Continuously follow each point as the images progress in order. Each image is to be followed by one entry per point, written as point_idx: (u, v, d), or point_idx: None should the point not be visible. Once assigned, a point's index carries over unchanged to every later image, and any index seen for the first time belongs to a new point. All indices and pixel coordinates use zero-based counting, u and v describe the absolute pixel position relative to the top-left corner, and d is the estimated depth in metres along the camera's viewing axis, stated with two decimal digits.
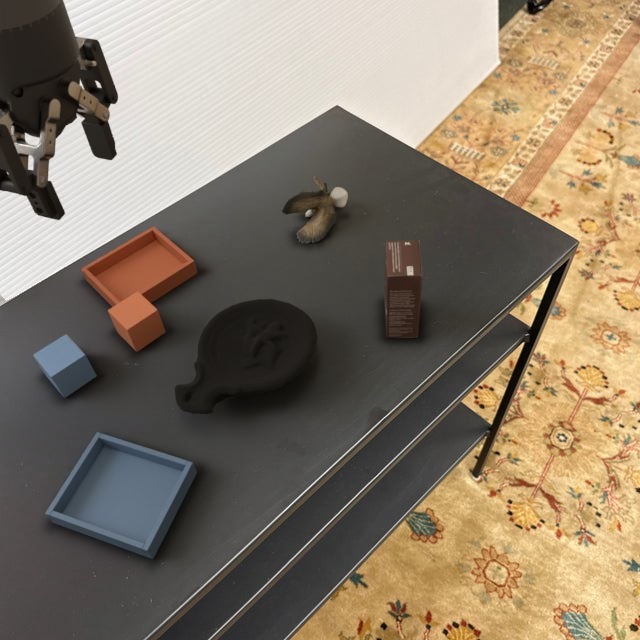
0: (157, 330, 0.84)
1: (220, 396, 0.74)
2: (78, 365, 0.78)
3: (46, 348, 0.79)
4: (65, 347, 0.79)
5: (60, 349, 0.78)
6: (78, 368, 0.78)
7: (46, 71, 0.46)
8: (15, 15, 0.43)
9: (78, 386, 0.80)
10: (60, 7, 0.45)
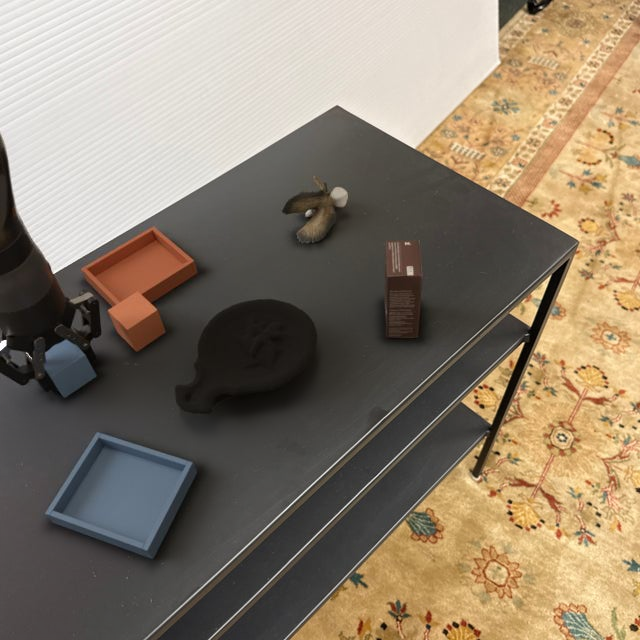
0: (157, 330, 0.84)
1: (220, 396, 0.74)
2: (78, 365, 0.78)
3: None
4: (65, 347, 0.79)
5: (60, 349, 0.78)
6: (78, 368, 0.78)
7: (26, 332, 0.69)
8: (5, 307, 0.65)
9: (78, 386, 0.80)
10: (44, 298, 0.67)
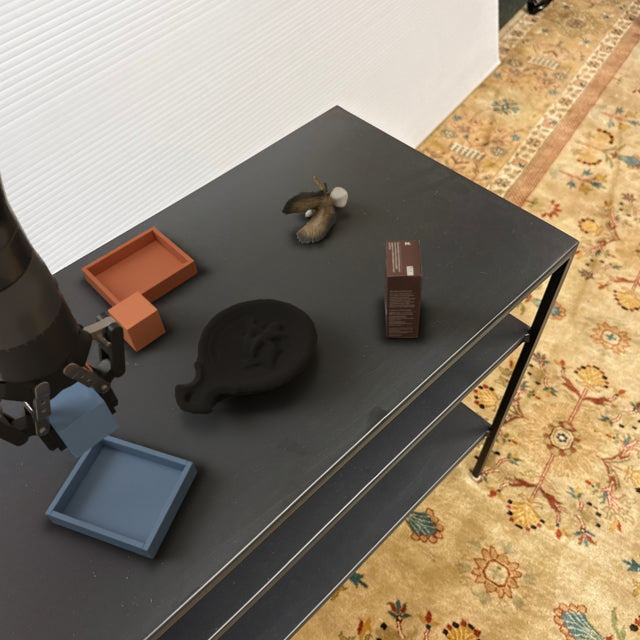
0: (157, 330, 0.84)
1: (220, 396, 0.74)
2: (95, 415, 0.57)
3: None
4: (77, 390, 0.58)
5: (70, 394, 0.58)
6: (94, 419, 0.57)
7: (24, 377, 0.48)
8: None
9: (94, 442, 0.59)
10: (48, 329, 0.47)
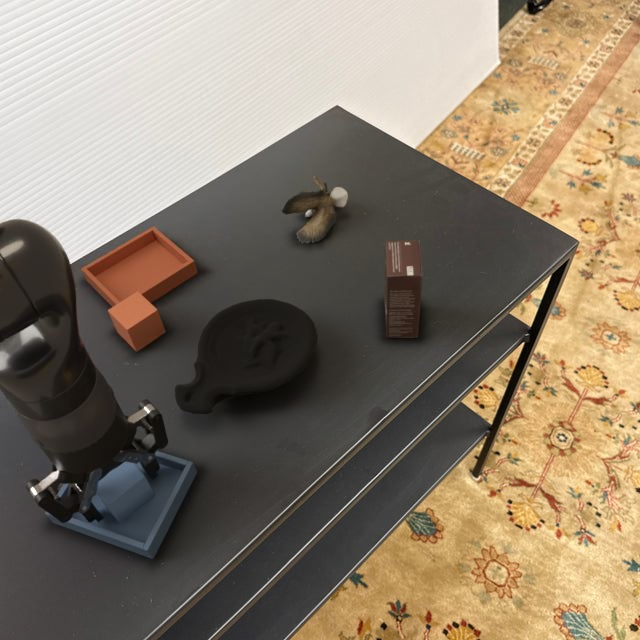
0: (157, 330, 0.84)
1: (220, 396, 0.74)
2: (137, 488, 0.67)
3: None
4: (121, 466, 0.67)
5: (115, 469, 0.67)
6: (136, 491, 0.67)
7: (84, 469, 0.58)
8: (62, 448, 0.54)
9: (135, 509, 0.69)
10: (107, 432, 0.56)
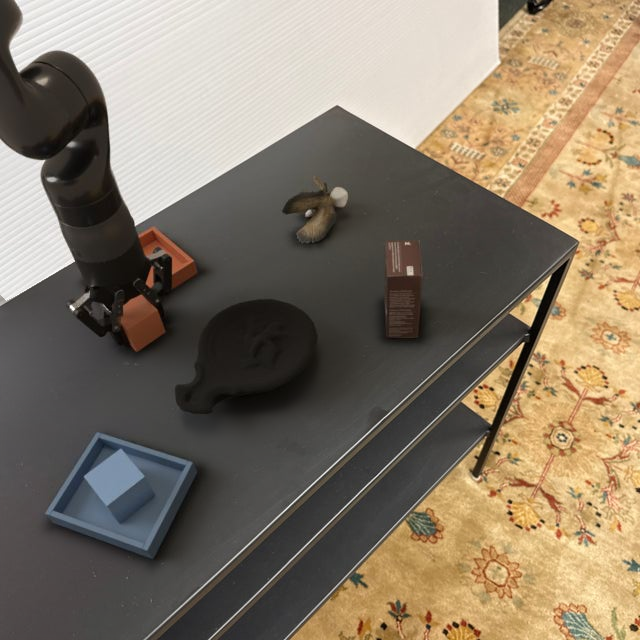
0: (157, 330, 0.84)
1: (220, 396, 0.74)
2: (137, 488, 0.67)
3: (99, 467, 0.67)
4: (121, 466, 0.67)
5: (115, 469, 0.67)
6: (136, 491, 0.67)
7: (111, 283, 0.73)
8: (95, 257, 0.69)
9: (135, 509, 0.69)
10: (129, 250, 0.71)
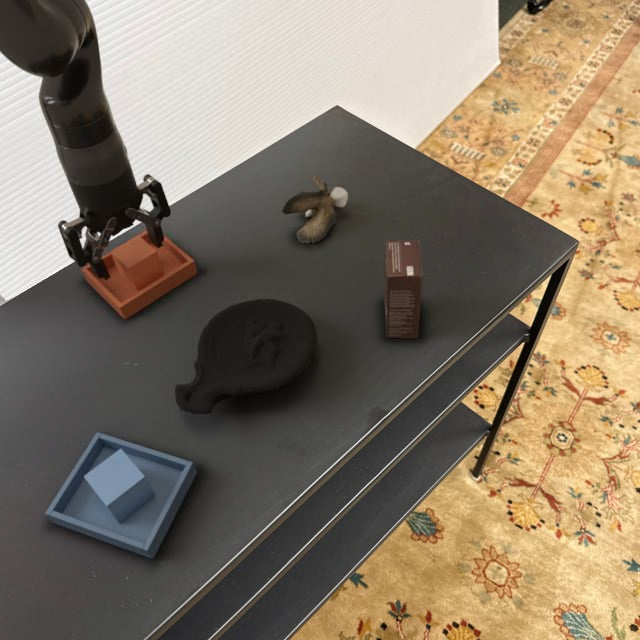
0: (156, 271, 0.90)
1: (220, 396, 0.74)
2: (137, 488, 0.67)
3: (99, 467, 0.67)
4: (121, 466, 0.67)
5: (115, 469, 0.67)
6: (136, 491, 0.67)
7: (105, 207, 0.77)
8: (89, 180, 0.74)
9: (135, 509, 0.69)
10: (122, 175, 0.76)
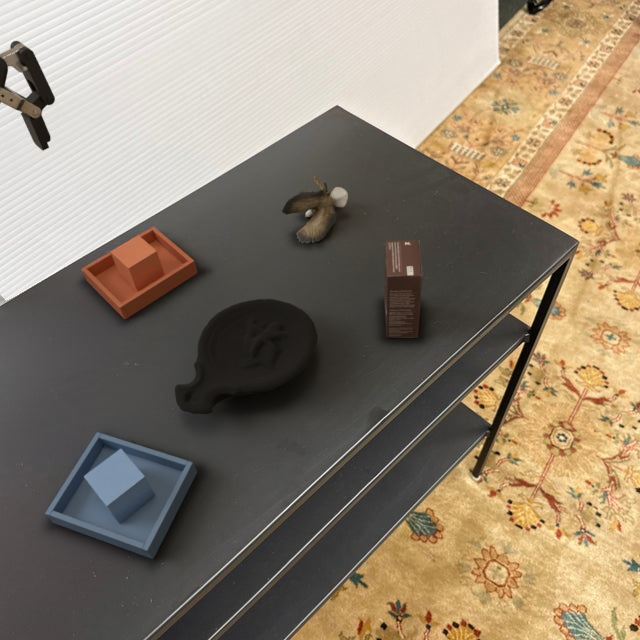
0: (156, 271, 0.90)
1: (220, 396, 0.74)
2: (137, 488, 0.67)
3: (99, 467, 0.67)
4: (121, 466, 0.67)
5: (115, 469, 0.67)
6: (136, 491, 0.67)
7: None
8: None
9: (135, 509, 0.69)
10: None
